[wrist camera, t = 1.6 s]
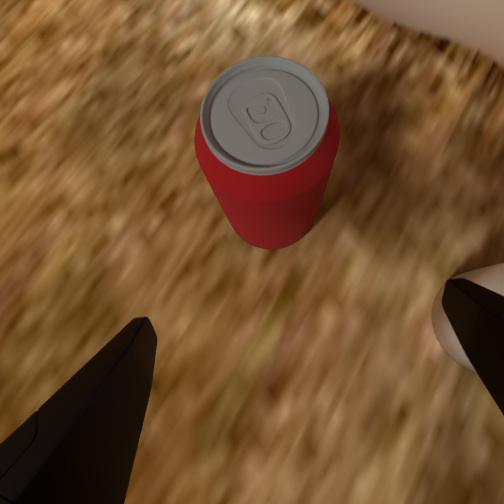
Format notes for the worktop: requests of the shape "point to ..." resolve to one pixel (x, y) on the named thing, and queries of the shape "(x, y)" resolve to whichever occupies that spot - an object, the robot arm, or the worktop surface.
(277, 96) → the beverage can
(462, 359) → the sugar jar
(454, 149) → the worktop surface
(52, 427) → the robot arm
